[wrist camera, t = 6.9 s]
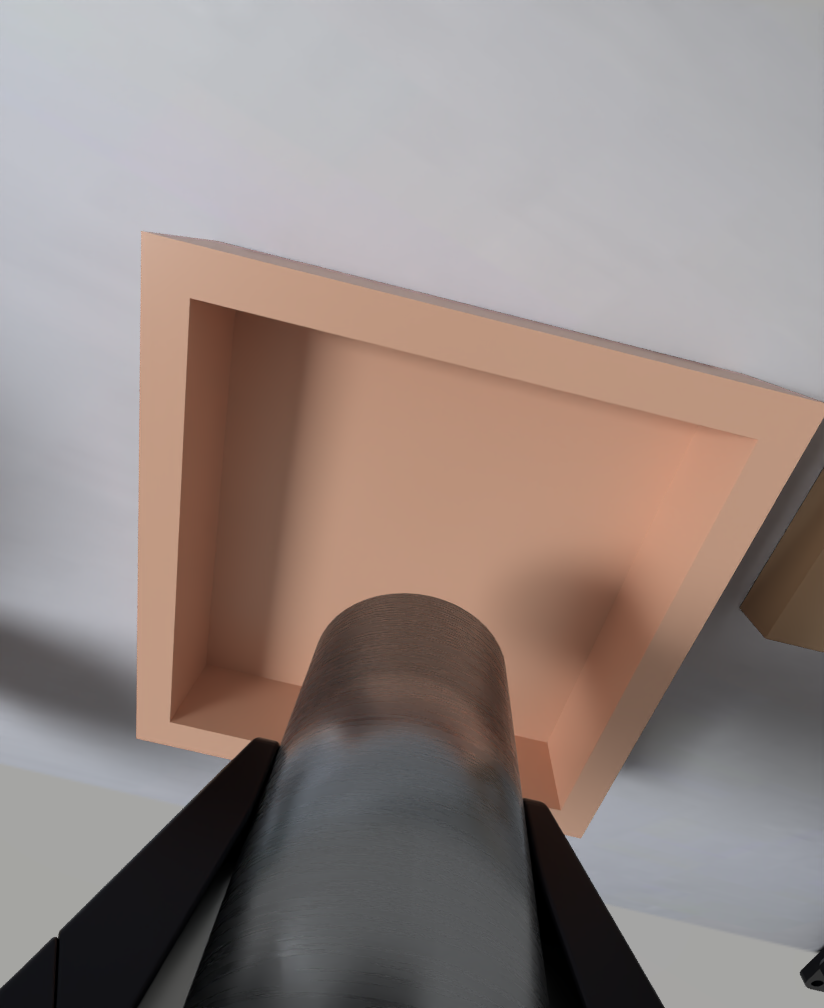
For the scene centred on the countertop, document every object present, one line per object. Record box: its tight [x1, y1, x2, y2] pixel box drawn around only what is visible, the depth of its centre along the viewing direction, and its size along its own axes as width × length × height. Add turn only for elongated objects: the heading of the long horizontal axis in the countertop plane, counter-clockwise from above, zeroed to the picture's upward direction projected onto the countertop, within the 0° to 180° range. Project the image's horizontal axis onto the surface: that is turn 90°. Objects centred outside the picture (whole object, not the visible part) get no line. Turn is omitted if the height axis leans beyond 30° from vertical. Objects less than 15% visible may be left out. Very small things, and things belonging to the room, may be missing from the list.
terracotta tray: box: [136, 231, 824, 838], centre depth 15 cm, size 14×14×4 cm
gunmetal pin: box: [183, 593, 550, 1008], centre depth 8 cm, size 4×4×7 cm
